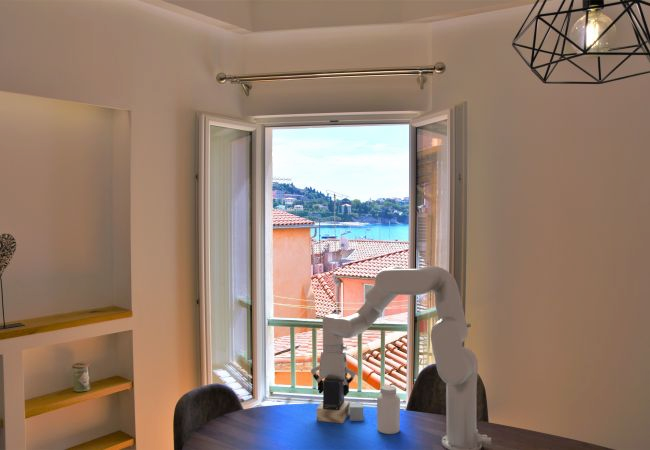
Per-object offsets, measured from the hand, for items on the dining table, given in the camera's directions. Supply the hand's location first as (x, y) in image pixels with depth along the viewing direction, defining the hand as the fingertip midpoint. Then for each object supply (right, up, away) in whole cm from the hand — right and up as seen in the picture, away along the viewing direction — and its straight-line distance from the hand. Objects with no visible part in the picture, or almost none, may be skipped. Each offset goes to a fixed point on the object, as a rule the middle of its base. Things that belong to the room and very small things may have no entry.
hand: (333, 393), depth 192 cm
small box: (0, -5, 0) cm, 5 cm away
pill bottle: (+19, -9, -12) cm, 25 cm away
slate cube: (+9, -9, -1) cm, 12 cm away
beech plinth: (0, -9, 0) cm, 9 cm away
